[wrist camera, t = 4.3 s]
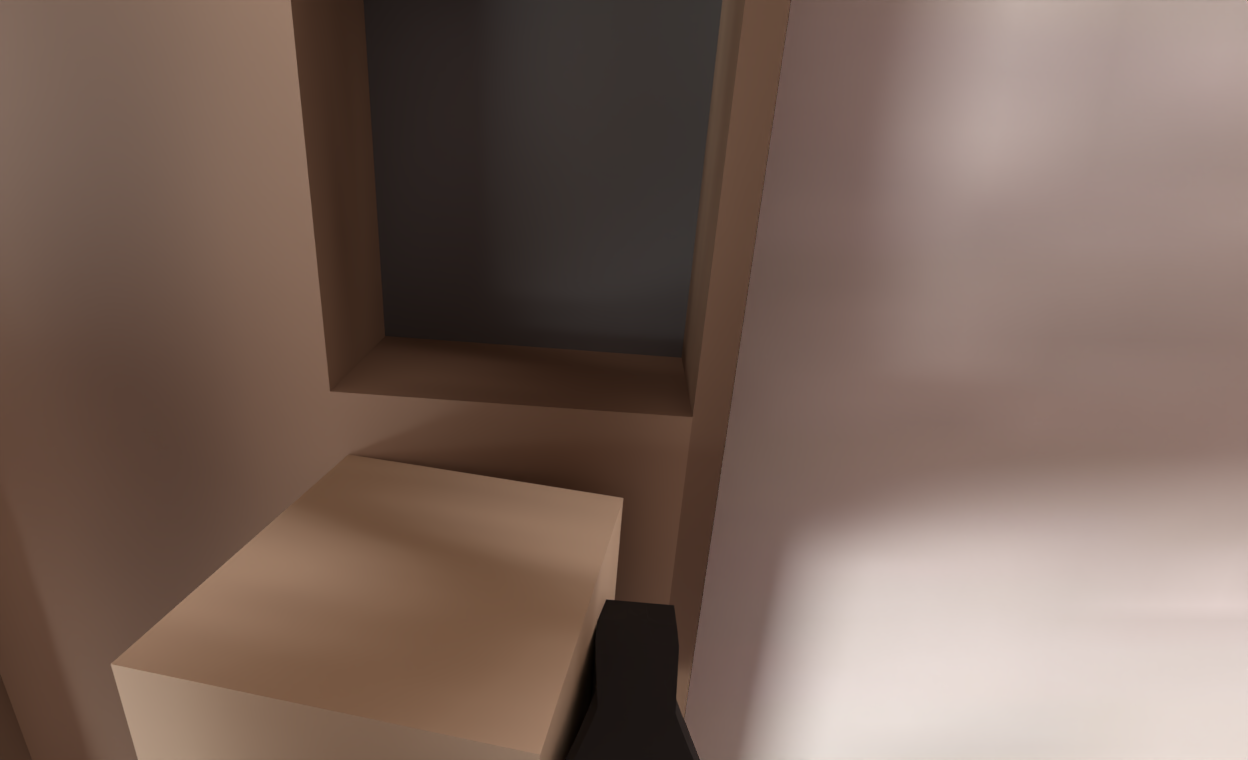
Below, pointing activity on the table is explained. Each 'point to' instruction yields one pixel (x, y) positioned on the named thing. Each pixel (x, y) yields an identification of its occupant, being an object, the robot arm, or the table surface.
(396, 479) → the maple block
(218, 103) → the trap box
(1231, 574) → the table surface
